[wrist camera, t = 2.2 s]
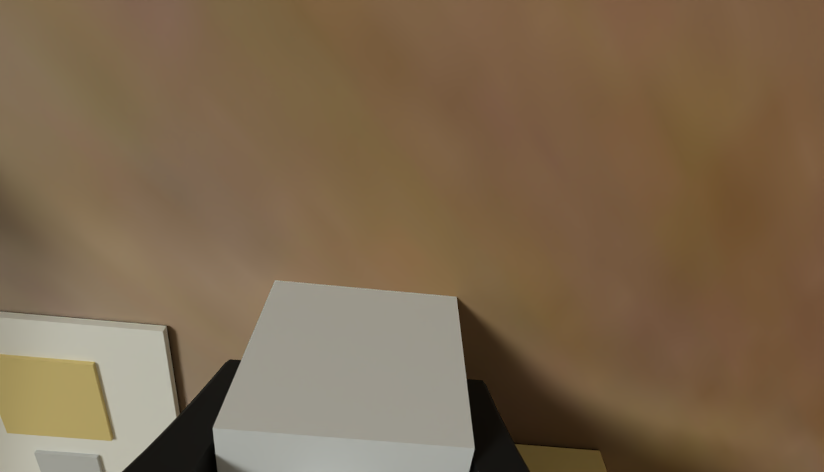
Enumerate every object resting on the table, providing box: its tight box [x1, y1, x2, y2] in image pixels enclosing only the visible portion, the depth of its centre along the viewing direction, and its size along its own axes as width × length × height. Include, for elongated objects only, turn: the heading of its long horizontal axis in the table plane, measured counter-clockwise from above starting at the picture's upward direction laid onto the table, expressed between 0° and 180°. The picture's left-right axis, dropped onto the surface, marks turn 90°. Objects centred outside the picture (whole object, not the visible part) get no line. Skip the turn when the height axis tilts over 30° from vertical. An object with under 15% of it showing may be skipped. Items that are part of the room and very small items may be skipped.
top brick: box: [213, 280, 475, 472], centre depth 10 cm, size 4×4×5 cm
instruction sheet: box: [0, 312, 180, 472], centre depth 14 cm, size 6×8×1 cm
